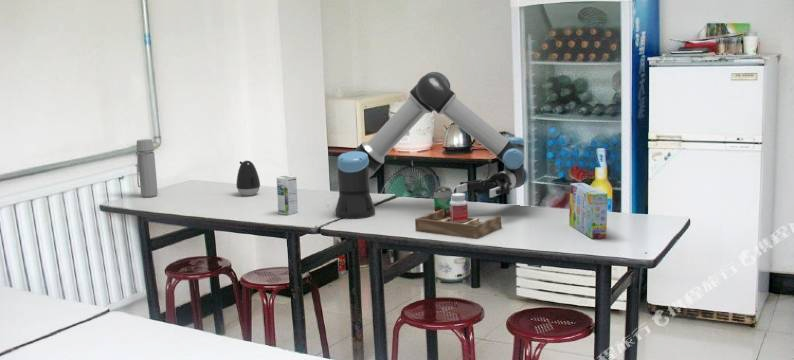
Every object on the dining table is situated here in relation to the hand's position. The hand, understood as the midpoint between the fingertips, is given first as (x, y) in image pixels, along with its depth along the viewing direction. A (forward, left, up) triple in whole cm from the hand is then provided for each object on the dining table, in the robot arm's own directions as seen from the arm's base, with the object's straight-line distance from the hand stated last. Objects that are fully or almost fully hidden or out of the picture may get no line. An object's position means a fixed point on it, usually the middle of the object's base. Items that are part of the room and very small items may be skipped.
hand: (473, 191), depth 301 cm
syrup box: (-39, -64, -12) cm, 76 cm away
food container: (-15, -7, -12) cm, 20 cm away
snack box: (+24, +33, -12) cm, 42 cm away
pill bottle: (+7, -7, -10) cm, 14 cm away
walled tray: (+7, -7, -11) cm, 15 cm away
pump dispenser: (-83, -79, -12) cm, 115 cm away
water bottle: (-95, -123, -12) cm, 156 cm away
